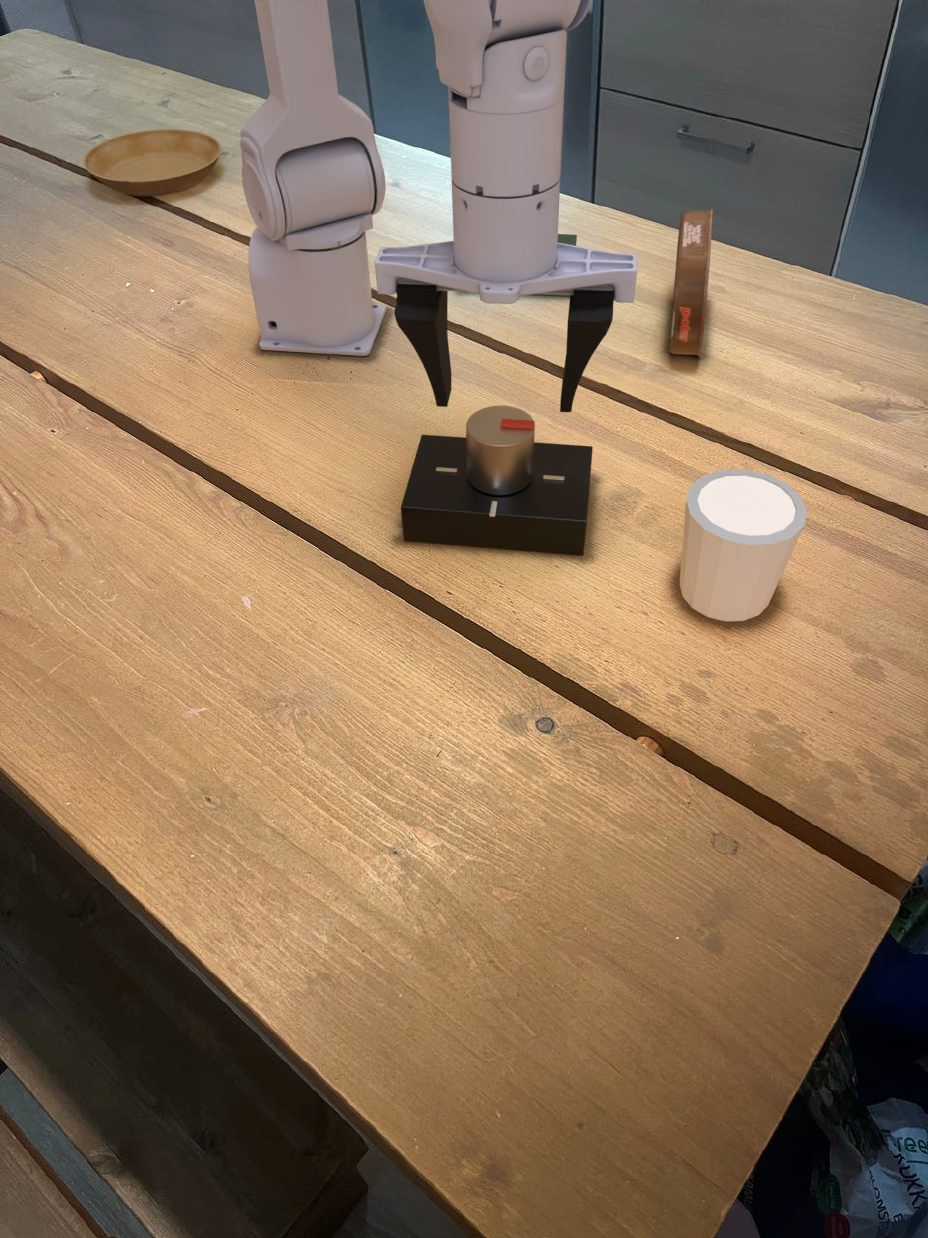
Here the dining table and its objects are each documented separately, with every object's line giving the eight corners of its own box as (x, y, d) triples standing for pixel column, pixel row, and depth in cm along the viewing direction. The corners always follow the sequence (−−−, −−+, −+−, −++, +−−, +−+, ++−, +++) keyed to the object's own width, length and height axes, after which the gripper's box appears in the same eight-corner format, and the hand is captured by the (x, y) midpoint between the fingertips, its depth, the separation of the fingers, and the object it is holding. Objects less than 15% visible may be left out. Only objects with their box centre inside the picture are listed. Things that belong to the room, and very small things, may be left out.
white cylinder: (757, 645, 57) (784, 559, 52) (652, 602, 59) (667, 517, 54) (795, 576, 61) (824, 490, 56) (694, 539, 63) (713, 453, 58)
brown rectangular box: (699, 376, 77) (717, 277, 71) (659, 372, 77) (674, 273, 71) (704, 286, 87) (721, 192, 81) (669, 283, 87) (683, 190, 81)
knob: (462, 493, 62) (461, 438, 59) (471, 452, 65) (470, 398, 62) (529, 498, 62) (532, 443, 59) (535, 457, 65) (538, 403, 62)
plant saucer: (163, 142, 113) (158, 118, 111) (253, 169, 107) (249, 145, 105) (62, 185, 105) (54, 160, 103) (152, 217, 99) (146, 192, 97)
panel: (402, 544, 64) (399, 507, 61) (424, 465, 69) (422, 429, 67) (583, 559, 62) (586, 522, 60) (589, 477, 68) (593, 441, 66)
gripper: (354, 204, 48) (379, 431, 58) (646, 211, 46) (621, 443, 56) (380, 152, 53) (398, 369, 62) (645, 157, 51) (622, 379, 61)
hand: (504, 400), depth 60 cm, fingers open, 7 cm apart
